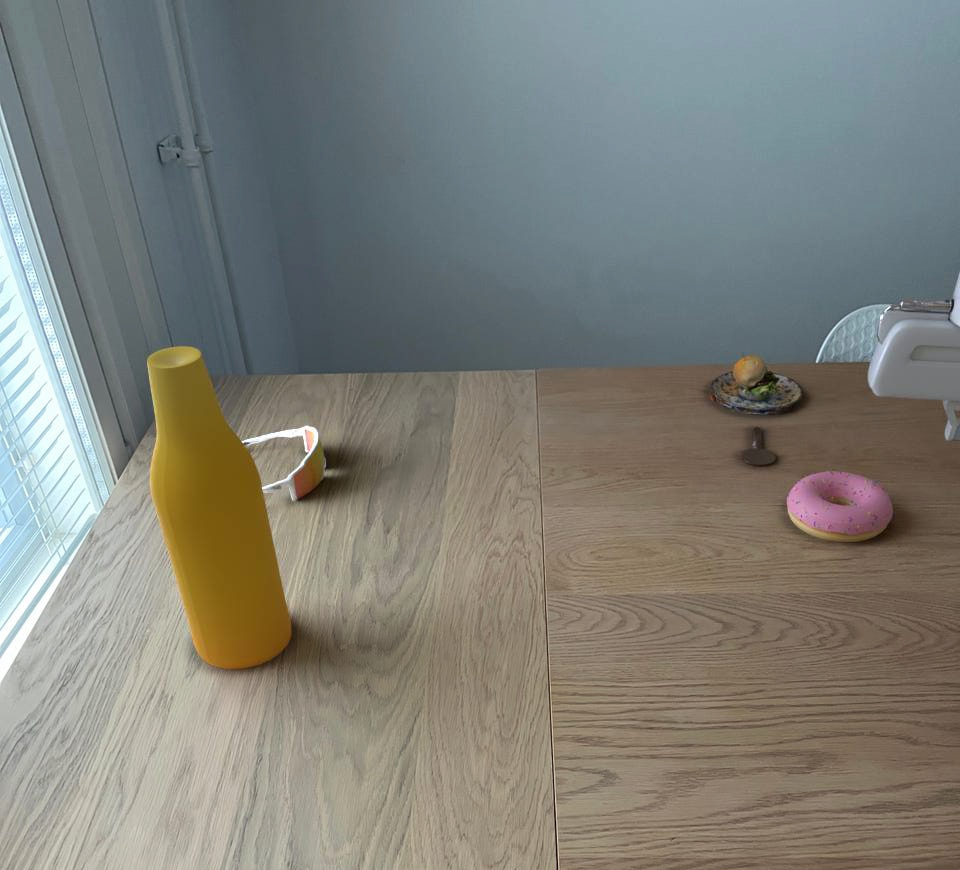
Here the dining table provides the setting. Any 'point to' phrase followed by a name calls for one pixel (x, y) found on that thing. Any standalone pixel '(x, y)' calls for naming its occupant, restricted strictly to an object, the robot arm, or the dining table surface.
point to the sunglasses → (310, 467)
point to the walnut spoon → (757, 452)
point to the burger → (755, 389)
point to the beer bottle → (213, 519)
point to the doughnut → (839, 506)
